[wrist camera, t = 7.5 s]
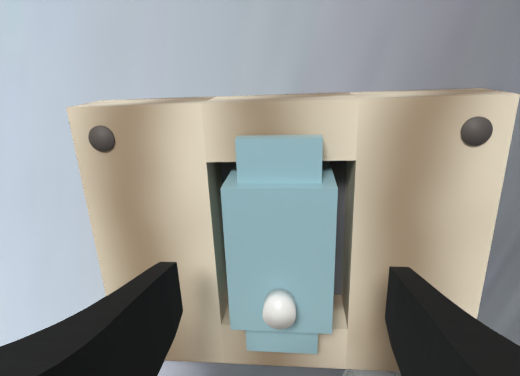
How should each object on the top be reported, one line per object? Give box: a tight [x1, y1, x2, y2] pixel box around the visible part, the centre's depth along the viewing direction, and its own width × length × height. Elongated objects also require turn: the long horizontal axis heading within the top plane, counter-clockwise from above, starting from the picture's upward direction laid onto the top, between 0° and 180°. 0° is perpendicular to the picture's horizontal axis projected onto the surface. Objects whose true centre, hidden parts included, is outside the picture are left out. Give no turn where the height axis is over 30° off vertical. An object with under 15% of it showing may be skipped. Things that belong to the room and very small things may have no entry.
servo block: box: [220, 135, 338, 354], centre depth 15 cm, size 4×9×5 cm, turn 2°
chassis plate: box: [67, 88, 520, 372], centre depth 16 cm, size 16×12×3 cm
